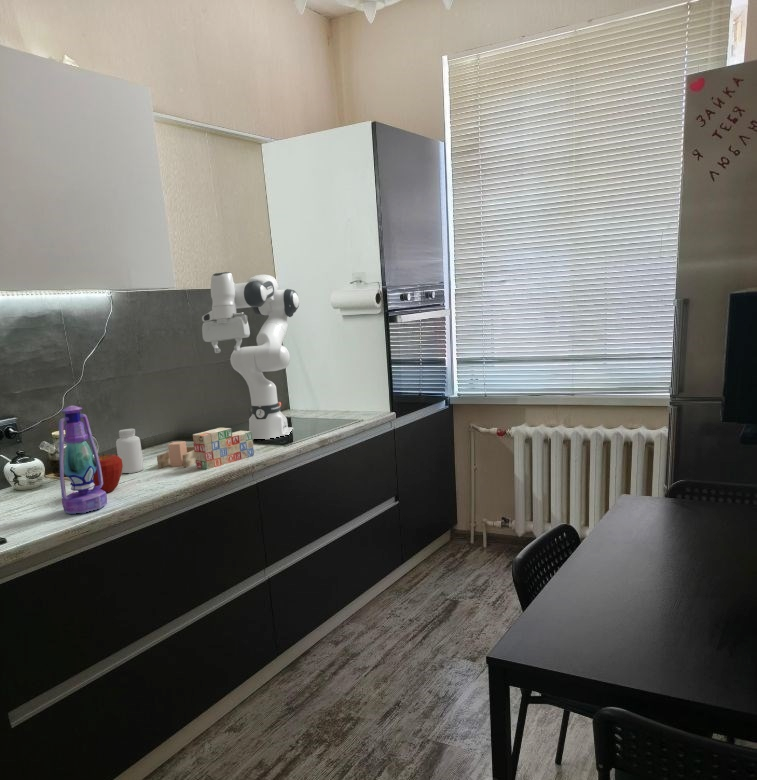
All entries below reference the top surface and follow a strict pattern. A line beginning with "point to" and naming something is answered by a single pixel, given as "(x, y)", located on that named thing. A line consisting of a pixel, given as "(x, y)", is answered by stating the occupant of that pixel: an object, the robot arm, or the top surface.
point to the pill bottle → (129, 451)
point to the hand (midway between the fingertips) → (227, 351)
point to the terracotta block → (177, 453)
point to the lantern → (79, 464)
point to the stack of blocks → (221, 447)
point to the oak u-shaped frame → (187, 458)
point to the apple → (109, 472)
